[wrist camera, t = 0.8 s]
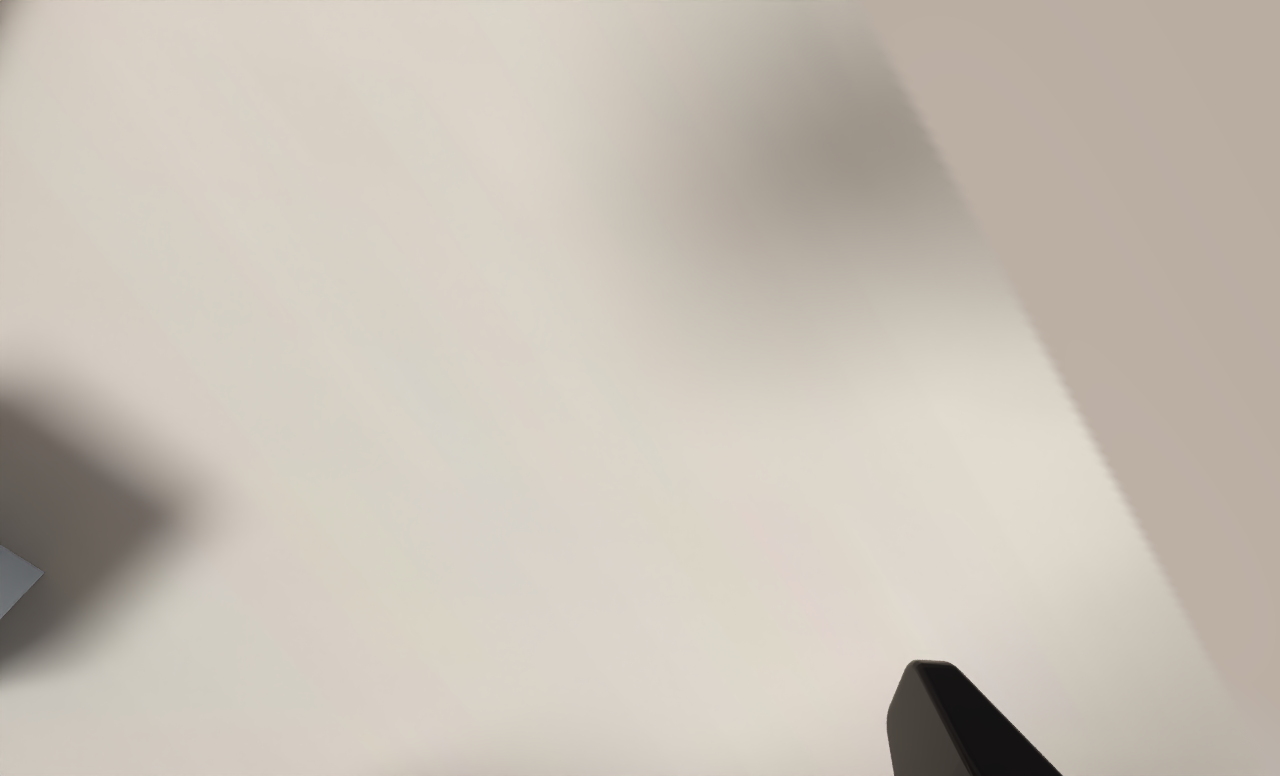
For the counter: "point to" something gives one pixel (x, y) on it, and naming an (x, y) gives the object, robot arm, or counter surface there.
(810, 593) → the counter surface
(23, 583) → the block
